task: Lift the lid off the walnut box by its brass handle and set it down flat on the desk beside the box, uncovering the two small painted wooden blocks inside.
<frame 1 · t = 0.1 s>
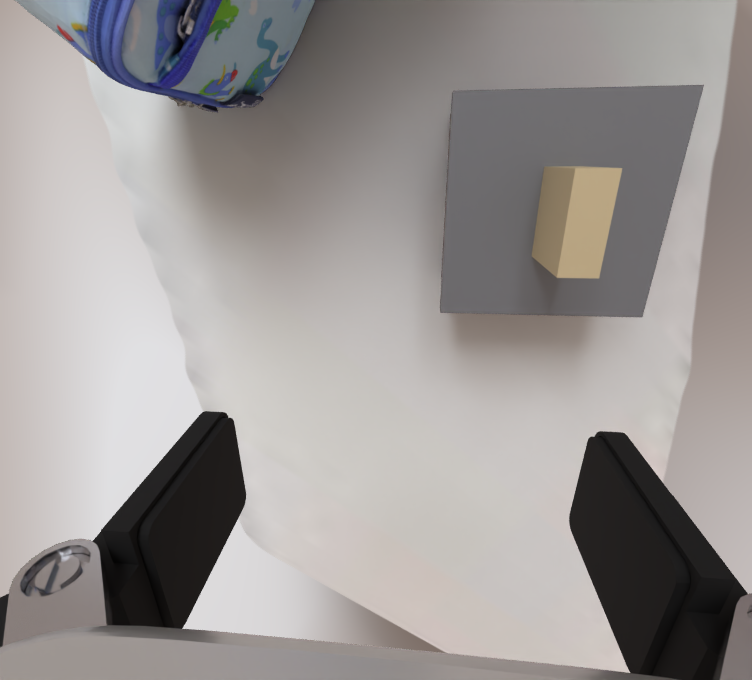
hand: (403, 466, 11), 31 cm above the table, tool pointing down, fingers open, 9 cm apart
lid: (551, 211, 30), point 8 cm above the table, touching walnut box
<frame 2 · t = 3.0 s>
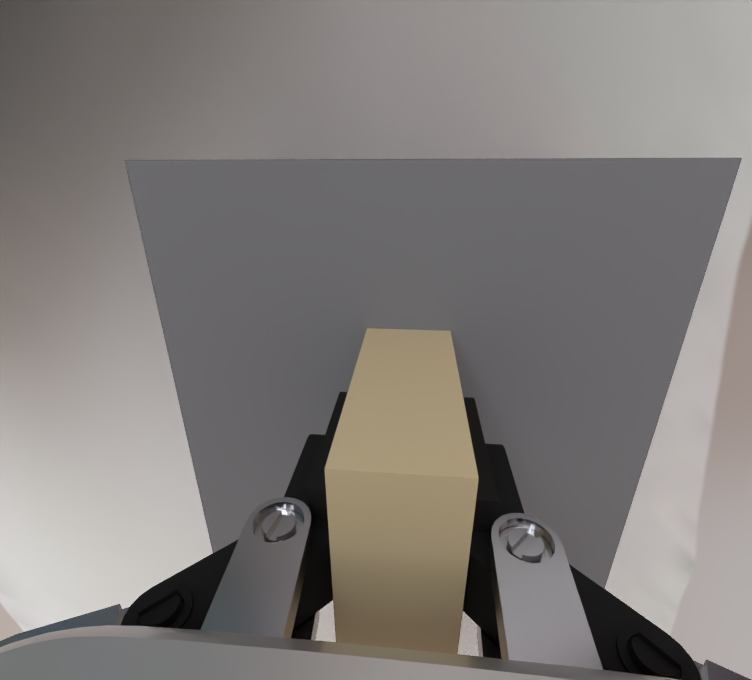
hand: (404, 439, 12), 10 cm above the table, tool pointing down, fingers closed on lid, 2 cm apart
lid: (406, 400, 14), point 8 cm above the table, touching gripper, walnut box
when the fingers open (4 cm above the table, at t = 10.8 s): lid drops 2 cm, on the table.
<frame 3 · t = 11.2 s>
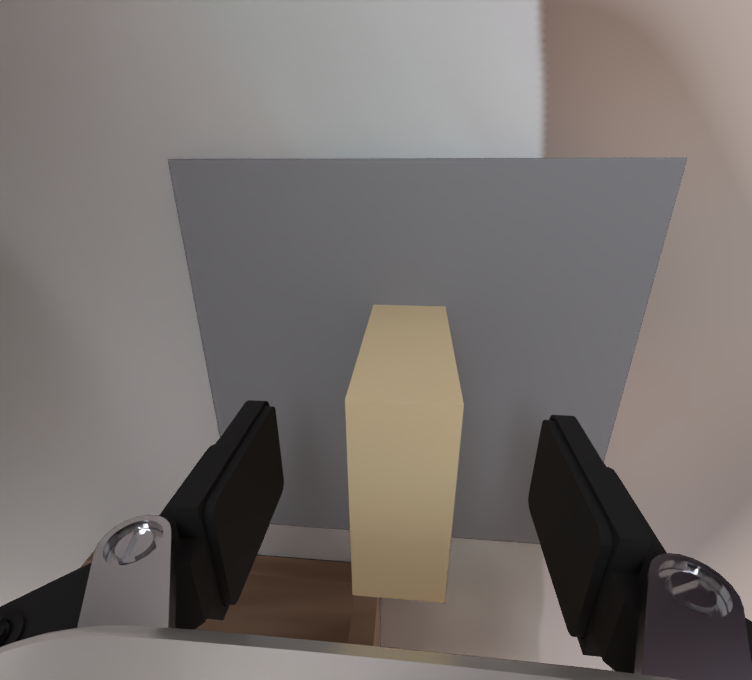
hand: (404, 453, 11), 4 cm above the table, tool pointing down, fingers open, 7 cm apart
lid: (407, 370, 16), on the table
walnut box: (254, 643, 23), on the table
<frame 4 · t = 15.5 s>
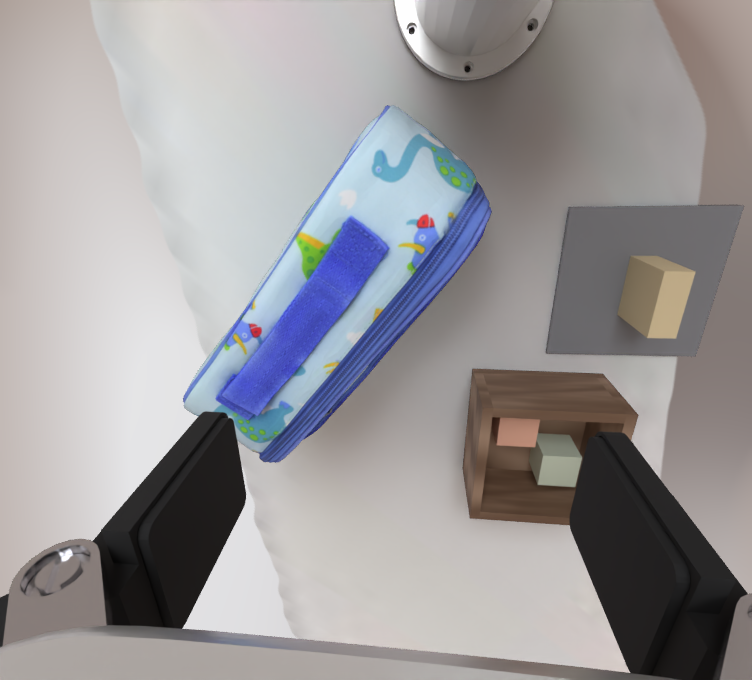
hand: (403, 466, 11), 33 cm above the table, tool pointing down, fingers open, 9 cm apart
sage block: (548, 448, 48), point 1 cm above the table, touching walnut box
terracotta block: (510, 409, 47), point 1 cm above the table, touching walnut box
lid: (631, 283, 42), on the table
lunch box: (355, 259, 43), on the table
walnut box: (527, 424, 49), on the table
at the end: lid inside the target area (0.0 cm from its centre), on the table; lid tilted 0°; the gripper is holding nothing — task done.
